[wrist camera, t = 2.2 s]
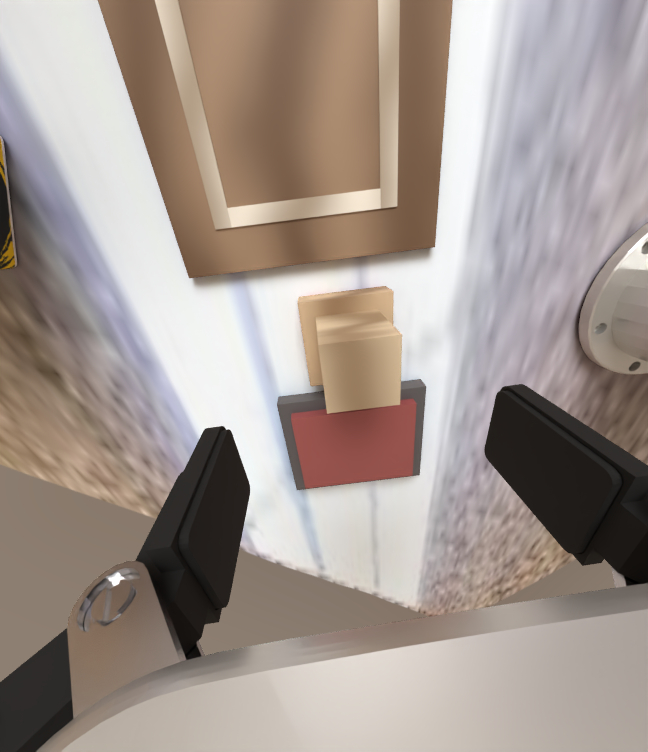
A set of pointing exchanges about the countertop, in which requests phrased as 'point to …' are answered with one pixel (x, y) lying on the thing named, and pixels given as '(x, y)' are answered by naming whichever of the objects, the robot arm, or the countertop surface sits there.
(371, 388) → the stamp
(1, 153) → the medicine bottle
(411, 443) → the ink pad
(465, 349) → the countertop surface
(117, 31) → the marked board
